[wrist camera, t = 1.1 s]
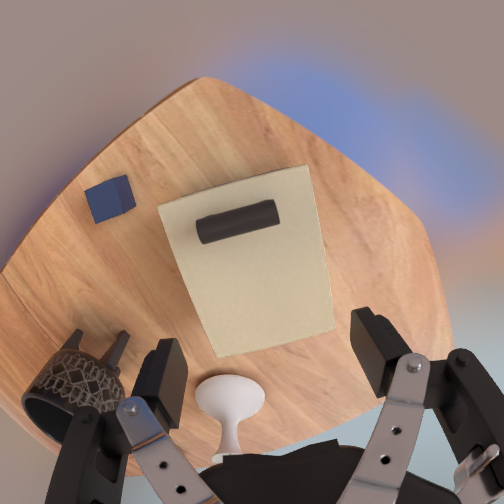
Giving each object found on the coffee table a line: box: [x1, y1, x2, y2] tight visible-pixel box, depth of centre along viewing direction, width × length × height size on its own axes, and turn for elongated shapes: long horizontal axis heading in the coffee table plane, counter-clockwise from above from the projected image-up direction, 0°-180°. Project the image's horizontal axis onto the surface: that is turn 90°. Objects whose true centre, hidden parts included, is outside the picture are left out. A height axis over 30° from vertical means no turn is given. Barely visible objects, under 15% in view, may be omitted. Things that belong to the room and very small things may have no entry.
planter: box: [21, 329, 130, 445], centre depth 30 cm, size 13×13×18 cm
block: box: [84, 175, 136, 224], centre depth 28 cm, size 4×4×4 cm
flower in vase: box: [195, 374, 265, 464], centre depth 30 cm, size 13×11×25 cm
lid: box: [157, 164, 336, 359], centre depth 23 cm, size 16×13×5 cm
